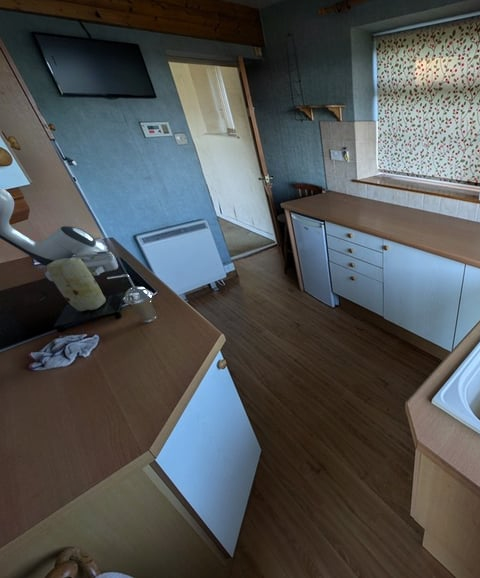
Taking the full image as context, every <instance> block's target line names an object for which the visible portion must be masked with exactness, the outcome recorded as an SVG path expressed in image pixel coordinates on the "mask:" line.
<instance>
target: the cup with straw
mask: <svg viewBox="0 0 480 578" xmlns="http://www.w3.org/2000/svg"><path fill="white" fill-rule="evenodd" d="M119 278H127V280H128V282H129V284H130V286H131V287H130V288H128V289H127V290H126V291H125V297H124V299H123V300H124V301H123V304H126V305H128V306H129V307H130V308H132V310H133V311H134V312H135V314H136V315H137V316H138V318H139V319H140V320H141V321H142V323H143V324H148V323H151V322H152V323H153V322H154V321H156V320H157V319H158V316H157V311H156V309H155V306H154V303H153V295H154V293H153V291H152V290H150V289H147V288H146V287H144V286H139V285H137V286H135V284H134V283H133V280H132V279H131V276H130V275H129V274H120V275H113V276H107V277H106V280H112V279H119Z"/></svg>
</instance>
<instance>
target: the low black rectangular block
mask: <svg viewBox="0 0 480 578" xmlns="http://www.w3.org/2000/svg"><path fill="white" fill-rule="evenodd" d="M125 293H126V291H124V292H119V293H115V294H110V295H103V296H104V297H105V299H106V302H105V303H104V304H103V305H101V306H100V307H99V308H97V309H94V310H85V311H78V310H77V309H75V308H74V307H73V306H72V305H71V304H70V303H67V304H66V306H65V307H64V308H63V310H62V311H61V313H60V314H59V317H58V318H57V320H56V322H55V323H54V324H53V326H52V328H53V329H54V330H56V331H57V332H58V333H59V334H61V333H64V331H65V332H66V330H67V328H66V327H69V326H73V325H78V324H82V323H86V322H87V323H88V322H91V321H94V320H99V319H103V318H108V317H112V316H113V317H114V318H115V320H119V319H122V318H123V315H122V314H121V310H122V307H123V304H124V300H123V299H124V297H125ZM65 329H66V330H65ZM60 332H61V333H60Z"/></svg>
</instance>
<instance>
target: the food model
mask: <svg viewBox="0 0 480 578" xmlns="http://www.w3.org/2000/svg"><path fill="white" fill-rule="evenodd" d="M45 267H46V271H48V272H49V274H50V276H51V277H52V279H53V281H52V282H53V283H54V285H55V286H56V288H57V290H58V291H59V292H60V294H61V295H62V296H63V298H64V299H65V300H66V301H67V303H68V304H71V305H72V306H73V307H74V308H75V309H77V310H78V311H85V310H94V309H97V308H99V307H100V306H101V305H103V304H104V303H105V302H106V299H105V297H104V296H105V295H104V294H103V292H102V290H101V288H100V286H99V284H98V282H97V281H96V278H95V276H93V274H91V273H90V271H89V270H88V269H87V267H86V266H85V265H84V263H83V261H82V260H81V259H80V258H73V257H71V258H64V259H59V260H56V261H53V262H52V263H50V264H48V265H47V266H45Z"/></svg>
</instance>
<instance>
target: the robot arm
mask: <svg viewBox="0 0 480 578" xmlns="http://www.w3.org/2000/svg"><path fill="white" fill-rule="evenodd" d="M14 210H15V200H14V197H13V196H12V195H11V193H9V191H7V190H6V189H5V188H3V187H1V186H0V239H1V240H2V241H4V242H6V243H7V244H9V245H11V246H13V247H14V248H16V249H18V250H19V251H21V252H23V253H24V254H26V255H27V256H28V257H30V258H32V259H33V260H34V261H35V262H37V263H38V264H41V265H43V266H44V267H46V266H47V265H48V264H50V263H52V262H53V261H56V260H59V259H64V258H80V259H81V260H82V261H83V263H84V265H85V266H86V267H87V269H88V270H89V271H90V273H91V274H92V276H93V277H97V276H100V274H102V273H106V272H111V271H116V270H118V269H119V264H118V261H117V259H116V257H115V255H114V253H112V251H109V249H108V247H107V246H106V245H105V244H104V243H103V242H101V241H98V240H96V239H95V238H94V237H93V235H91V234H89V233H88V232H87V231H85V230H84V229H82V228H79V227H75V226H69V225H67V226H66V225H65V226H61V227H60V228H58V229H57V230H55V231H54V232H52V233H51V234H50V235H49V236H47V237H46V238H45V239H43V240H42V241H39V242H36V241H34V240H32V239H31V238H29V237H28V236H26V235H24V234H23V233H22V232H19V231H18V230H16V229H15V228H14V227H12V225H11V224H10V220H11V217H12V215H13V212H14ZM44 275H45V277H46V278H47V280H48V281H50V282H54V281H53V279H52V277H51V276H50V274H49V272H48V270H46V271H45V273H44Z"/></svg>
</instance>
